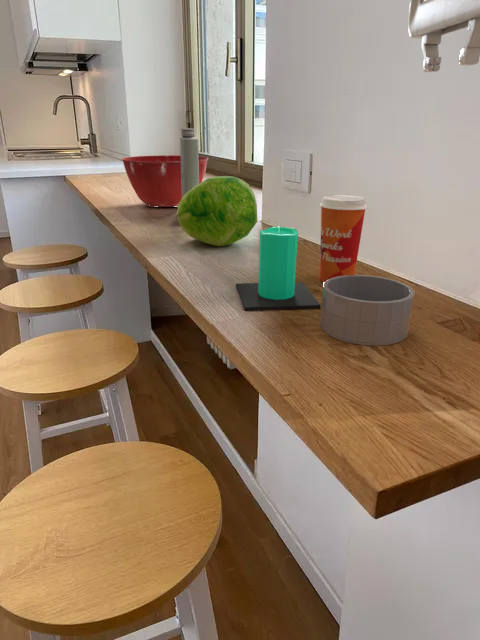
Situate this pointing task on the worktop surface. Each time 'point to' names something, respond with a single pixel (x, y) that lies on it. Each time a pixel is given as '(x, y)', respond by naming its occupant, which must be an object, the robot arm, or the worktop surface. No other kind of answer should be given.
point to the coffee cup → (340, 234)
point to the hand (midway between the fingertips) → (448, 68)
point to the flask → (189, 160)
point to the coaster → (256, 302)
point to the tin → (366, 309)
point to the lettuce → (218, 211)
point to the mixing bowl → (158, 178)
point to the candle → (277, 262)
